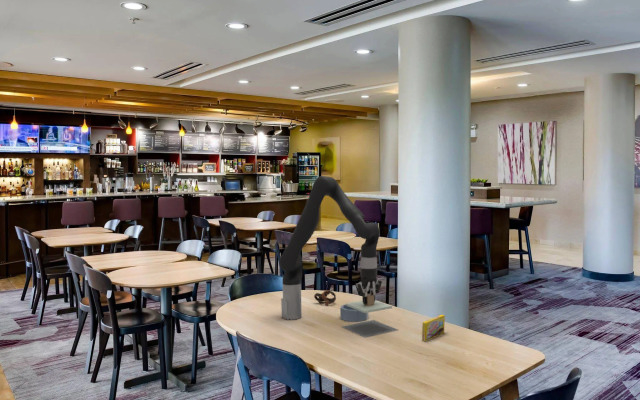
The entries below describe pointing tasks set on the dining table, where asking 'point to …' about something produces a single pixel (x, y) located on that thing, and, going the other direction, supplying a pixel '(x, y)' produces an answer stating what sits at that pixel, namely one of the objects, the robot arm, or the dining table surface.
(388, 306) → the lid
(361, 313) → the bowl
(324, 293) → the brown looped knot
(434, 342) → the dining table surface
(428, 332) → the candy box
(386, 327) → the mat
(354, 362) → the dining table surface
